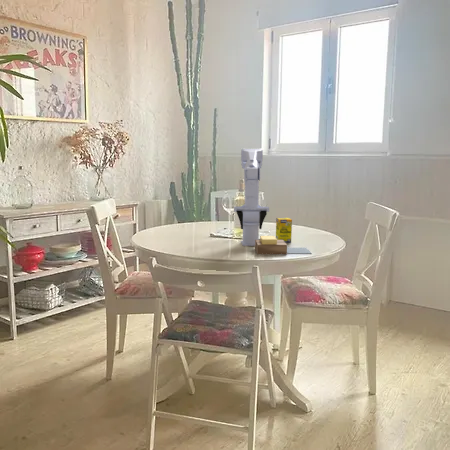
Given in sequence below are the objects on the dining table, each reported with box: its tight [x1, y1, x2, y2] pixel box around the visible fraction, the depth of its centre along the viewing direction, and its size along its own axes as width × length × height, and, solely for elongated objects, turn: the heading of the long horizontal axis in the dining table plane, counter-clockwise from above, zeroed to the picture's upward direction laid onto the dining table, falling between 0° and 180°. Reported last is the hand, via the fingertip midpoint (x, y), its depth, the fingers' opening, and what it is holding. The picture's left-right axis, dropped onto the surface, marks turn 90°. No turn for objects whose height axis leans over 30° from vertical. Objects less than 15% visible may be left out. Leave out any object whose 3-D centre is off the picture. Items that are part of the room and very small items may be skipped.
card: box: [259, 235, 277, 244], centre depth 204 cm, size 8×6×2 cm
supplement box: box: [275, 217, 293, 244], centre depth 225 cm, size 6×6×11 cm
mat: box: [286, 247, 312, 255], centre depth 206 cm, size 11×10×1 cm
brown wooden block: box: [254, 239, 288, 256], centre depth 204 cm, size 11×12×4 cm
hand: (251, 228), depth 202 cm, fingers open, 7 cm apart
